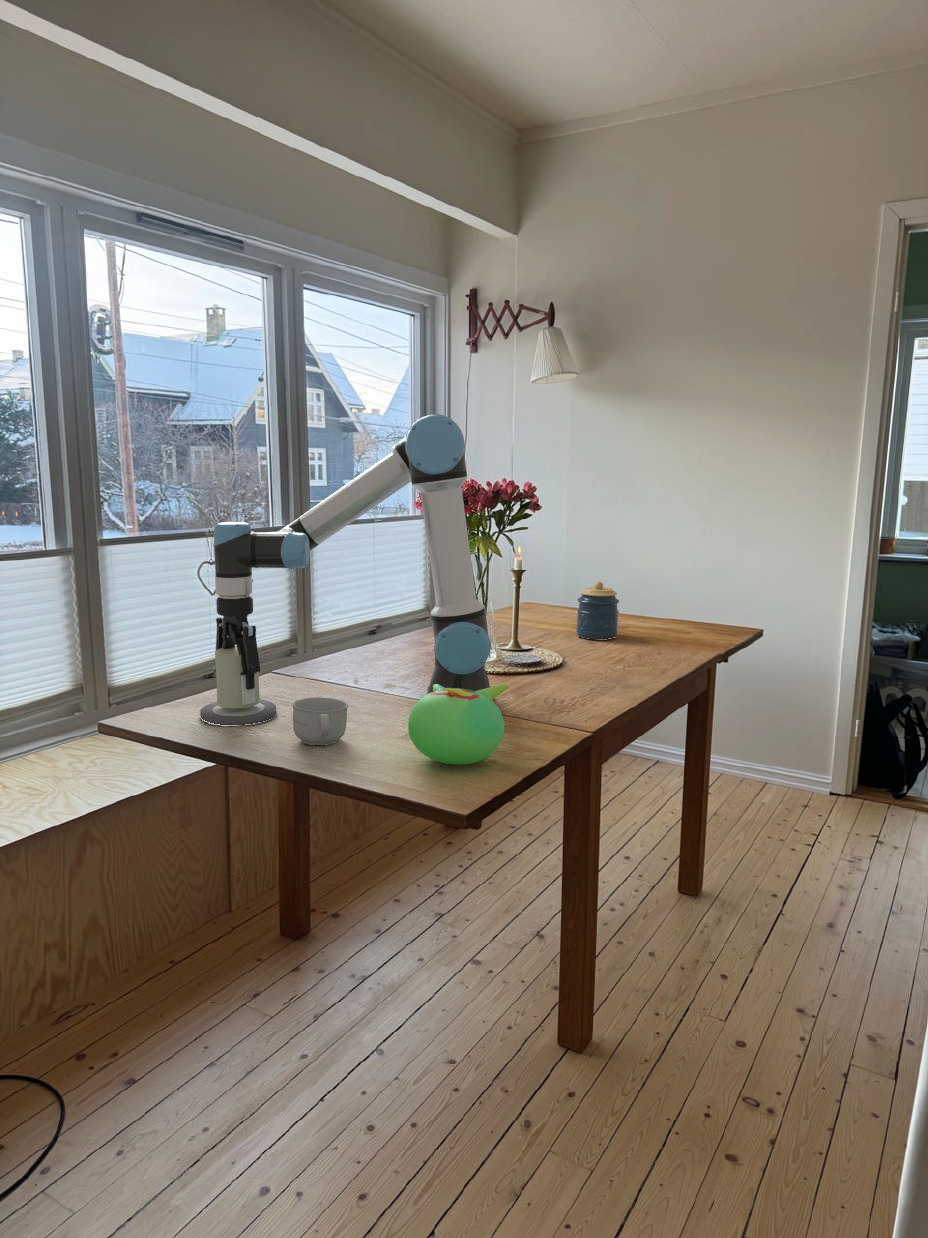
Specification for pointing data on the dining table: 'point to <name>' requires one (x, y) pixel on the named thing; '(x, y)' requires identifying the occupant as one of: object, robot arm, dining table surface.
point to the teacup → (319, 720)
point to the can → (231, 679)
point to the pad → (238, 713)
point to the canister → (597, 613)
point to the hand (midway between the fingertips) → (238, 698)
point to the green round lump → (457, 724)
